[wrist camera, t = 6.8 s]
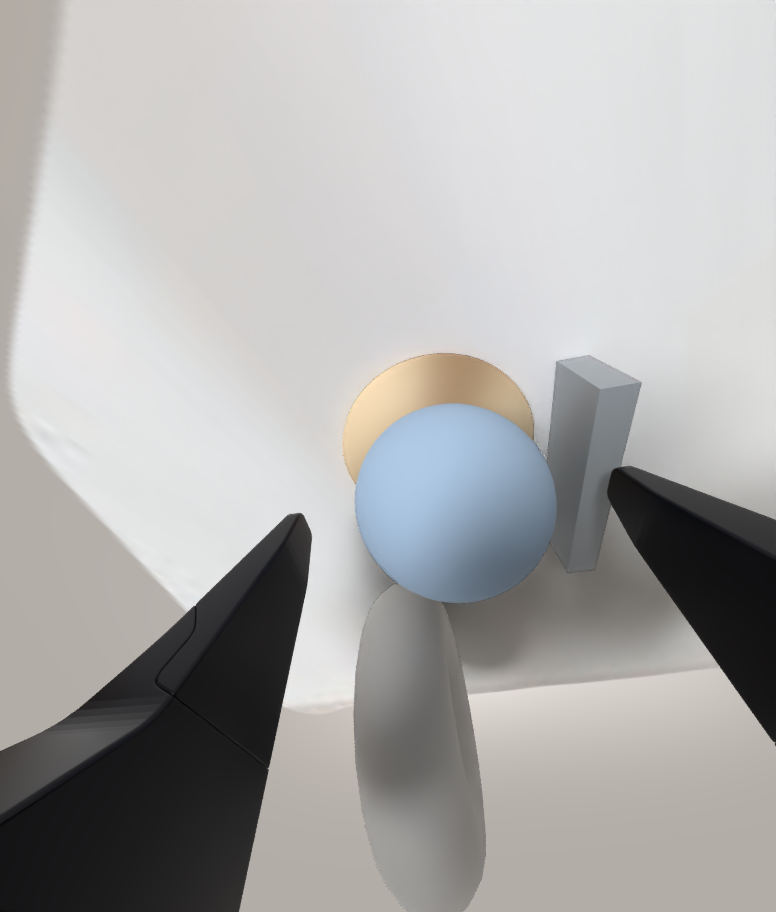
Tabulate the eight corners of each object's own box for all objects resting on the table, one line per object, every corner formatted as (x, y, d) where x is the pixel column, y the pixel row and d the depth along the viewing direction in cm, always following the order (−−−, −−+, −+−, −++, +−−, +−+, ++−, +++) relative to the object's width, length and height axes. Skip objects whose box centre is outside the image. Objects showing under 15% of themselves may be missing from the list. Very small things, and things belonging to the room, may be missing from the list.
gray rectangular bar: (589, 355, 10) (641, 382, 8) (564, 522, 14) (594, 569, 12) (556, 361, 10) (600, 389, 8) (541, 525, 14) (567, 573, 12)
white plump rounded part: (354, 544, 15) (308, 917, 7) (425, 529, 14) (474, 916, 6) (407, 647, 20) (419, 930, 12) (460, 640, 20) (514, 931, 11)
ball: (513, 496, 13) (584, 635, 8) (379, 514, 13) (373, 655, 9) (516, 360, 10) (632, 457, 5) (345, 392, 10) (308, 506, 6)
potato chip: (536, 333, 10) (540, 335, 9) (526, 502, 13) (529, 507, 13) (319, 374, 10) (317, 377, 10) (366, 524, 14) (366, 529, 14)
